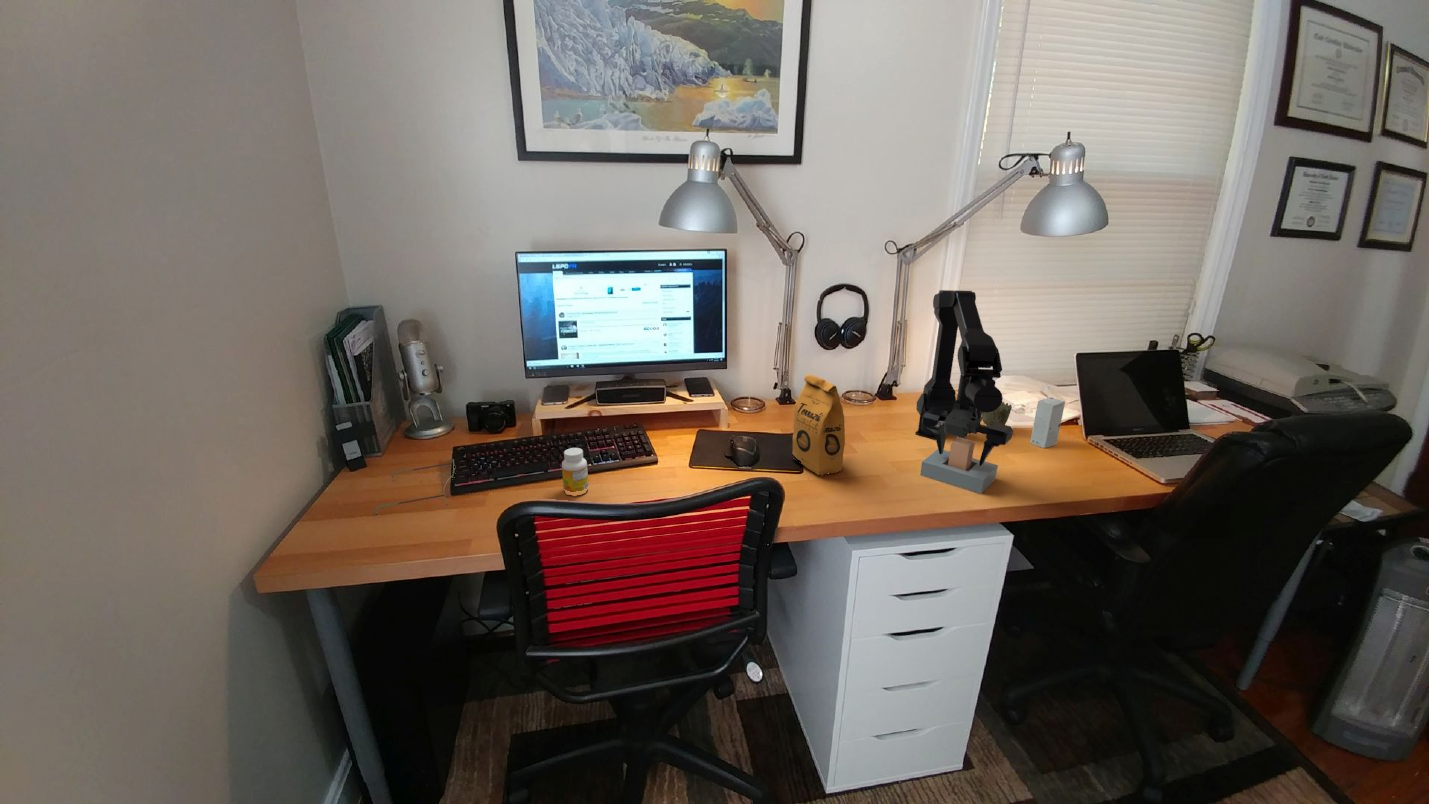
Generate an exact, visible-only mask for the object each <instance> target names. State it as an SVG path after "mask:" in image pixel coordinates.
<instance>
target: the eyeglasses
mask: <svg viewBox="0 0 1429 804" xmlns="http://www.w3.org/2000/svg"><path fill="white" fill-rule="evenodd" d="M452 463H453V464H452ZM449 465H452V469H453V470H452V475H450V476H449V478H448V479H447V480H446V481H445V484H444V486H443V488H442V494H439V495H434V496H429V497H422V498H418V499H413V500H407V501H405V500H404V501H401V502H399V501H398V502H392V503H388V504H382V505H377V506H376V507H375V508H374V512H373V513H374V514H375V513H377V514H378V512H377V510H378V509H380V508H385V507H391V506H396V505H397V506H398V505H401V504H406V503H413V502H417V501H424V500H429V499H434V498H440V497H443V501H444V502H445V505H447V504H448V502H447V500H446V496H445V489H446V488H445V487H446V485H447V483H448V482H449V480H451V478H454V473H455V469H456V467H455V468H454V466H455V460H454V458H452V462H449V463H443V464H437V465H436V464H435V465H431V466H425V467H419V468H412V469H406V470H400V471H399V470H398V471H395V472H393V473H392V475H391V479H392V478H394V476H395V475H396V474H397V475H398V474H400V473H402V474H403V473H407V472H413V471H420V470H426V469H430V468H431V469H432V468H436V467H443V466H449ZM394 479H395V478H394Z"/></svg>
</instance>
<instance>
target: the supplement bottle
mask: <svg viewBox="0 0 1429 804" xmlns="http://www.w3.org/2000/svg"><path fill="white" fill-rule="evenodd" d="M563 455H564V459H563V460H562V462H561V472H562V484H563V490H564V489H565V490H567V491H570V492H576V491H582V490H584V489H587V487H588V485H589V474H588V462H587V460H586V459H585V458H584V450H583V449H582V448H579V447H570V448H568V449H565V450H564V451H563Z"/></svg>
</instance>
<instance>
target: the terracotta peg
mask: <svg viewBox="0 0 1429 804" xmlns="http://www.w3.org/2000/svg"><path fill="white" fill-rule="evenodd" d="M975 444H976V443H975V441H974V440H970V439H966V438H959V437H958V436H956V438H954V440H953V441H951V443H950V450H949V452H950V455H949V461H948V466H951V467H955V468H958V469H961V470H965V471H969V470H970V468H971V462H972V458H973V456H974V449H975Z"/></svg>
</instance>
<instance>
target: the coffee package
mask: <svg viewBox="0 0 1429 804" xmlns="http://www.w3.org/2000/svg"><path fill="white" fill-rule="evenodd" d="M803 379H804V382H805V384H804V387H803V388H802V390H801V392H800V393H799V396H798V398H797V400H796V403H795V404H794V417H793V418H794V419H793V432H792V433H793V434H792V453H791V454H793V455H794V456H795V457H796V458H797V459H798V460H800V461H801V463H800V464H801V465H803V466H804V467H805V468H806V469H808V470H810V471H811V472H813V473H814V472H815V473H814V474H816V475H817V476H819V475H822V476H825V475H824V474H828V473H831V474H838V473H840V472H842V471H843V461H844V452H845V451H844V450H845V446H846V438H845V437H846V433H845V432H846V431H845V430H846V429H845V414H844V410H843V405H842V403H841V399H840V395H839V391H838V388H837V386H836V385H835V384H832V383H831V382H829V381H828V380H826V379H824V378H821V377H818V376H816V375H813V374H811V373H807V374H806V375H805V376H804V378H803ZM841 470H842V471H841ZM839 471H840V472H839ZM837 472H838V473H837Z"/></svg>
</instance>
